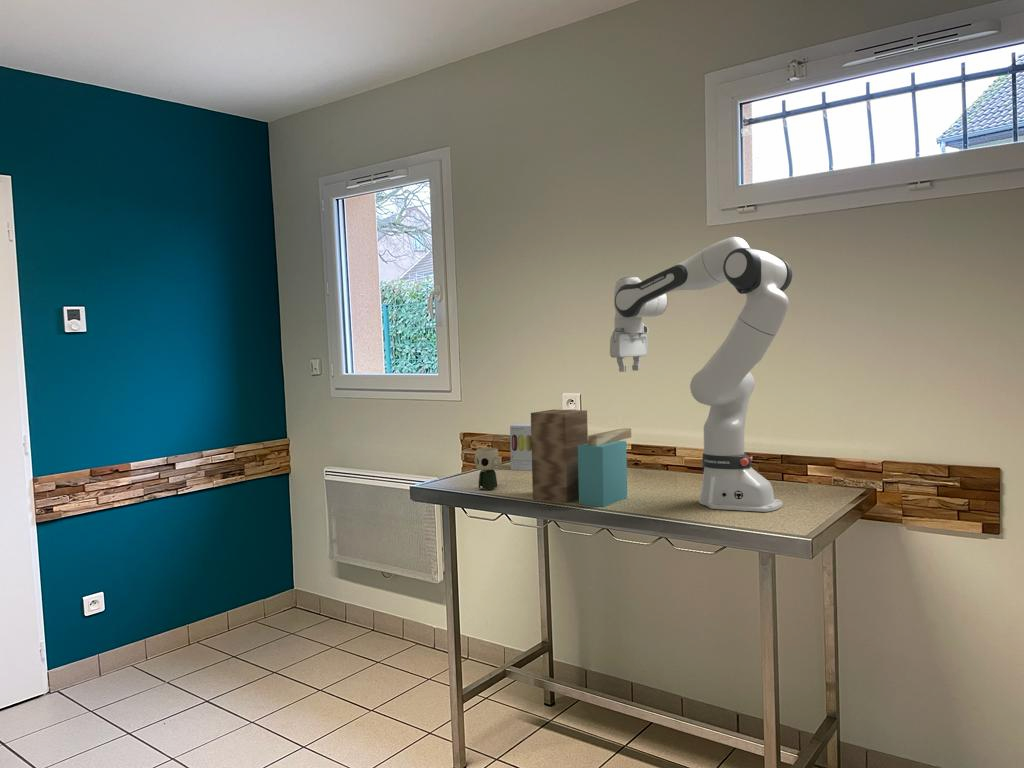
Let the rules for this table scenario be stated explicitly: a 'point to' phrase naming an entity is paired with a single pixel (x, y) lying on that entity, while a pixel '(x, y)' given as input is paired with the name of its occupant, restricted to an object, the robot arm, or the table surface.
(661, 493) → the table surface
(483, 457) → the character mug
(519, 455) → the supplement box
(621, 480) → the teal rectangular block
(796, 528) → the table surface
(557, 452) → the pillar
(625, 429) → the baton
